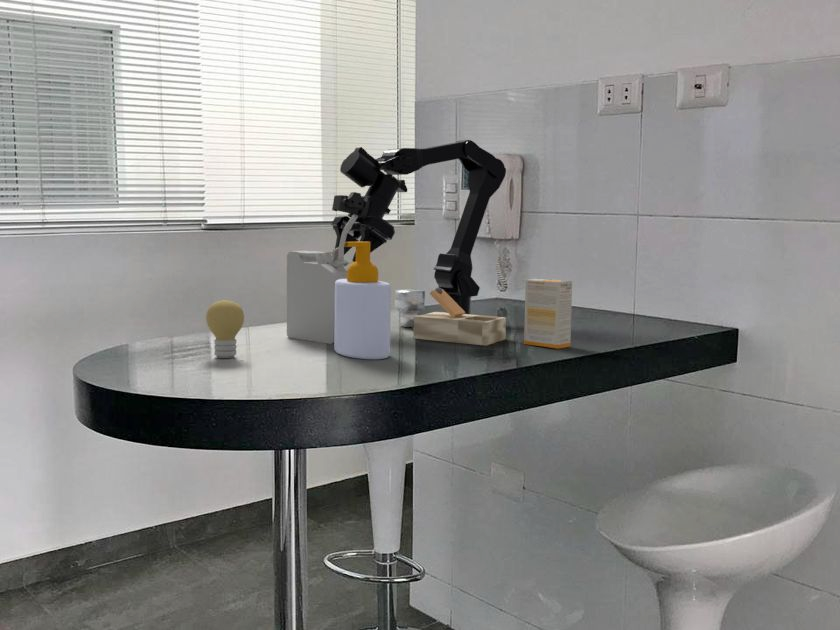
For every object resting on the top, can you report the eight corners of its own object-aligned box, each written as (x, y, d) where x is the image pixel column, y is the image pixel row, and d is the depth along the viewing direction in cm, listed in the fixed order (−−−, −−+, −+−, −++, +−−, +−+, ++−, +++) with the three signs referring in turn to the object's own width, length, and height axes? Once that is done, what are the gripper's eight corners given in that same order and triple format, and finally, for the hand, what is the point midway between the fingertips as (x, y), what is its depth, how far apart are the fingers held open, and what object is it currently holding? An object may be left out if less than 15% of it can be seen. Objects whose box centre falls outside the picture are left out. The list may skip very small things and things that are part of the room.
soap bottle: (323, 350, 164) (323, 240, 161) (360, 347, 169) (361, 239, 166) (363, 362, 153) (364, 243, 151) (401, 357, 158) (403, 243, 156)
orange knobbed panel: (463, 315, 183) (467, 309, 183) (452, 317, 179) (457, 311, 178) (438, 290, 185) (443, 284, 185) (428, 292, 181) (432, 286, 180)
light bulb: (225, 361, 151) (225, 303, 149) (198, 357, 154) (198, 300, 153) (251, 356, 156) (251, 300, 155) (225, 353, 159) (224, 297, 158)
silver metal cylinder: (403, 323, 202) (403, 288, 201) (429, 326, 199) (429, 290, 198) (389, 327, 197) (389, 291, 196) (415, 329, 194) (416, 293, 193)
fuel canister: (360, 342, 174) (361, 214, 171) (343, 345, 170) (344, 214, 167) (304, 334, 183) (304, 212, 180) (286, 337, 179) (286, 212, 176)
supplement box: (571, 347, 174) (574, 280, 172) (557, 349, 171) (560, 281, 169) (536, 341, 180) (539, 277, 178) (522, 344, 176) (524, 278, 174)
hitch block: (435, 332, 190) (435, 311, 189) (505, 339, 182) (506, 317, 182) (413, 338, 181) (413, 316, 180) (486, 345, 173) (486, 322, 173)
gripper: (330, 180, 197) (296, 241, 194) (370, 176, 181) (334, 242, 178) (367, 207, 202) (336, 266, 199) (410, 206, 186) (376, 270, 184)
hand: (344, 261), depth 190 cm, fingers open, 9 cm apart
